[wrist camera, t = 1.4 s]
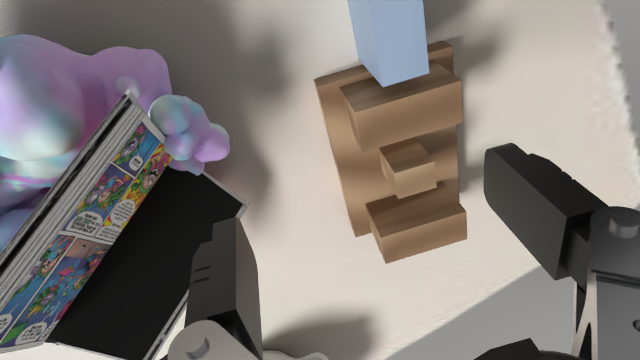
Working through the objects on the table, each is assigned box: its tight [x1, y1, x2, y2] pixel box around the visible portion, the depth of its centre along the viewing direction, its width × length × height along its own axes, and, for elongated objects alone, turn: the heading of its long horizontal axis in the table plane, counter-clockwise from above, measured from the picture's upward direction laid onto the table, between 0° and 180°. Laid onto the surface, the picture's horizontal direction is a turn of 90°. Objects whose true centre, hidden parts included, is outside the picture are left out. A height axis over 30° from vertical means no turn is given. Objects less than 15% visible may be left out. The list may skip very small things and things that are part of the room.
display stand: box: [314, 41, 467, 264], centre depth 32 cm, size 15×10×6 cm, turn 14°
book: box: [0, 34, 249, 360], centre depth 23 cm, size 20×22×18 cm
